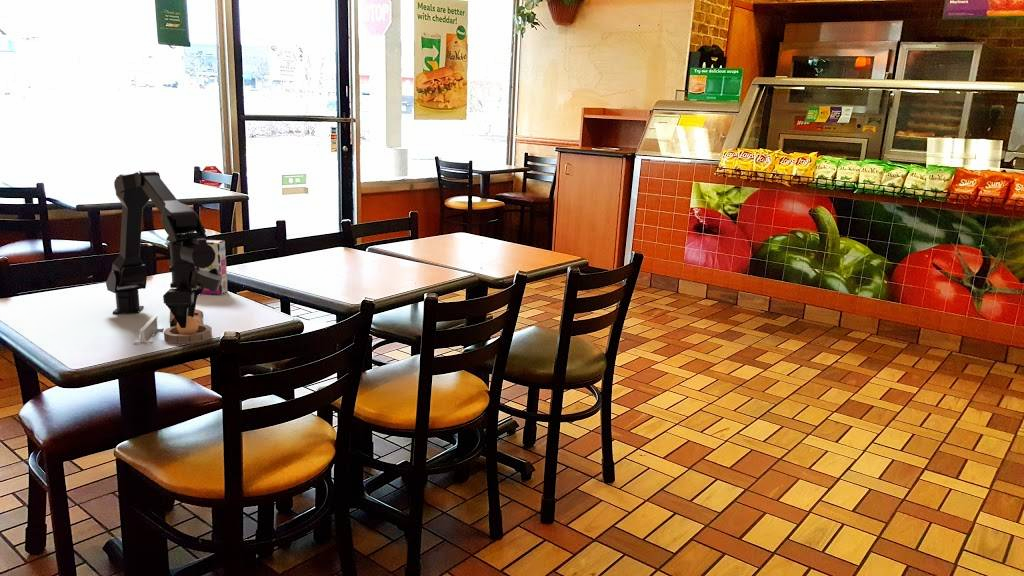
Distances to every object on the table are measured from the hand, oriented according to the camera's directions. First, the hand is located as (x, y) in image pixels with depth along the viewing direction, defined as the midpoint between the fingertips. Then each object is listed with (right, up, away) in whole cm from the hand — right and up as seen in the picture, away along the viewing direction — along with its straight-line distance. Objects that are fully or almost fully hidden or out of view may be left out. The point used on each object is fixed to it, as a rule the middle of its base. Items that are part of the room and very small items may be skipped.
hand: (187, 322), depth 189 cm
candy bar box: (-13, +7, +45) cm, 47 cm away
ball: (0, -3, +1) cm, 3 cm away
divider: (-10, -4, 0) cm, 10 cm away
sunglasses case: (-6, -1, +13) cm, 14 cm away
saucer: (0, -4, +1) cm, 4 cm away
